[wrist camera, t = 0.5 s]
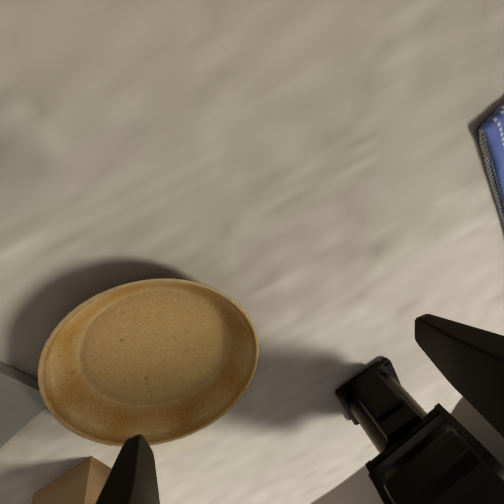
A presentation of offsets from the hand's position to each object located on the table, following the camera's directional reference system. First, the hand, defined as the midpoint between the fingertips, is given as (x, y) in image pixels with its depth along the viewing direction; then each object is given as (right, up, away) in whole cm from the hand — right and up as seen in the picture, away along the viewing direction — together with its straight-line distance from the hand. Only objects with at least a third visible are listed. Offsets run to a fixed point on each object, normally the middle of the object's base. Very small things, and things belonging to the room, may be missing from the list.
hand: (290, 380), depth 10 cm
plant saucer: (-9, -3, +15) cm, 18 cm away
